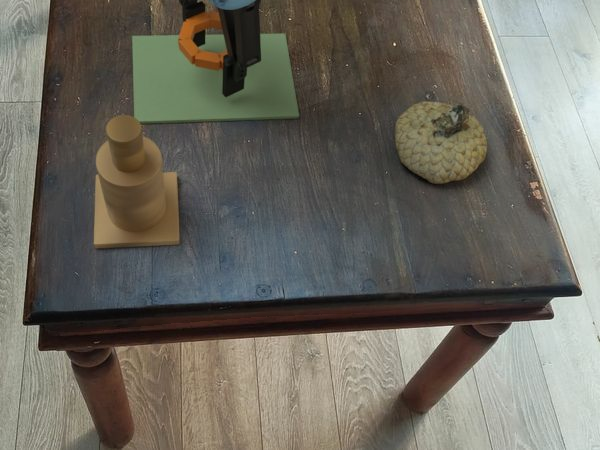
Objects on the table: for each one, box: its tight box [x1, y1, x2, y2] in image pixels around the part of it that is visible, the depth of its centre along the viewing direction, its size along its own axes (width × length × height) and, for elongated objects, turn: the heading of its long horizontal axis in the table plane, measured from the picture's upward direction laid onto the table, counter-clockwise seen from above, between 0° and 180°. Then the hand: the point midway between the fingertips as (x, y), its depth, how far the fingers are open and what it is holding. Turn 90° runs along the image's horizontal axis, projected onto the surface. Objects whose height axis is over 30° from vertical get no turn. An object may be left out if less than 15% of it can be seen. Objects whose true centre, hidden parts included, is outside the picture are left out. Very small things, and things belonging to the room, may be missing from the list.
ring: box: [178, 10, 228, 71], centre depth 84 cm, size 8×8×1 cm
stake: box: [93, 114, 181, 249], centre depth 72 cm, size 9×9×15 cm
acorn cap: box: [394, 100, 488, 185], centre depth 86 cm, size 10×11×10 cm
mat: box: [131, 33, 300, 125], centre depth 89 cm, size 20×14×1 cm
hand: (213, 68), depth 88 cm, fingers closed on ring, 8 cm apart
